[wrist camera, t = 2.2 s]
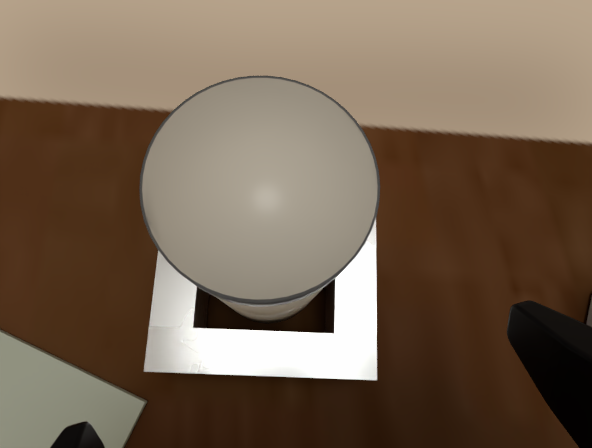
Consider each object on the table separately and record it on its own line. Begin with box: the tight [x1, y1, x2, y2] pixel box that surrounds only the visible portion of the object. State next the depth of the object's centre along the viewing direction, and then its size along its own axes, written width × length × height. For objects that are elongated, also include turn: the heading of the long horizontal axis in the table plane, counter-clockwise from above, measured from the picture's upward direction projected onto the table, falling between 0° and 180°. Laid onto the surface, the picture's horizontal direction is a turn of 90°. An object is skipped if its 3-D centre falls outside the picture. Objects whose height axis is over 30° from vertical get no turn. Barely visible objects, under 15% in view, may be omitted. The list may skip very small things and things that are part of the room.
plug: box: [140, 76, 380, 323], centre depth 15 cm, size 5×5×13 cm
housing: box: [144, 219, 377, 380], centre depth 20 cm, size 9×9×4 cm
